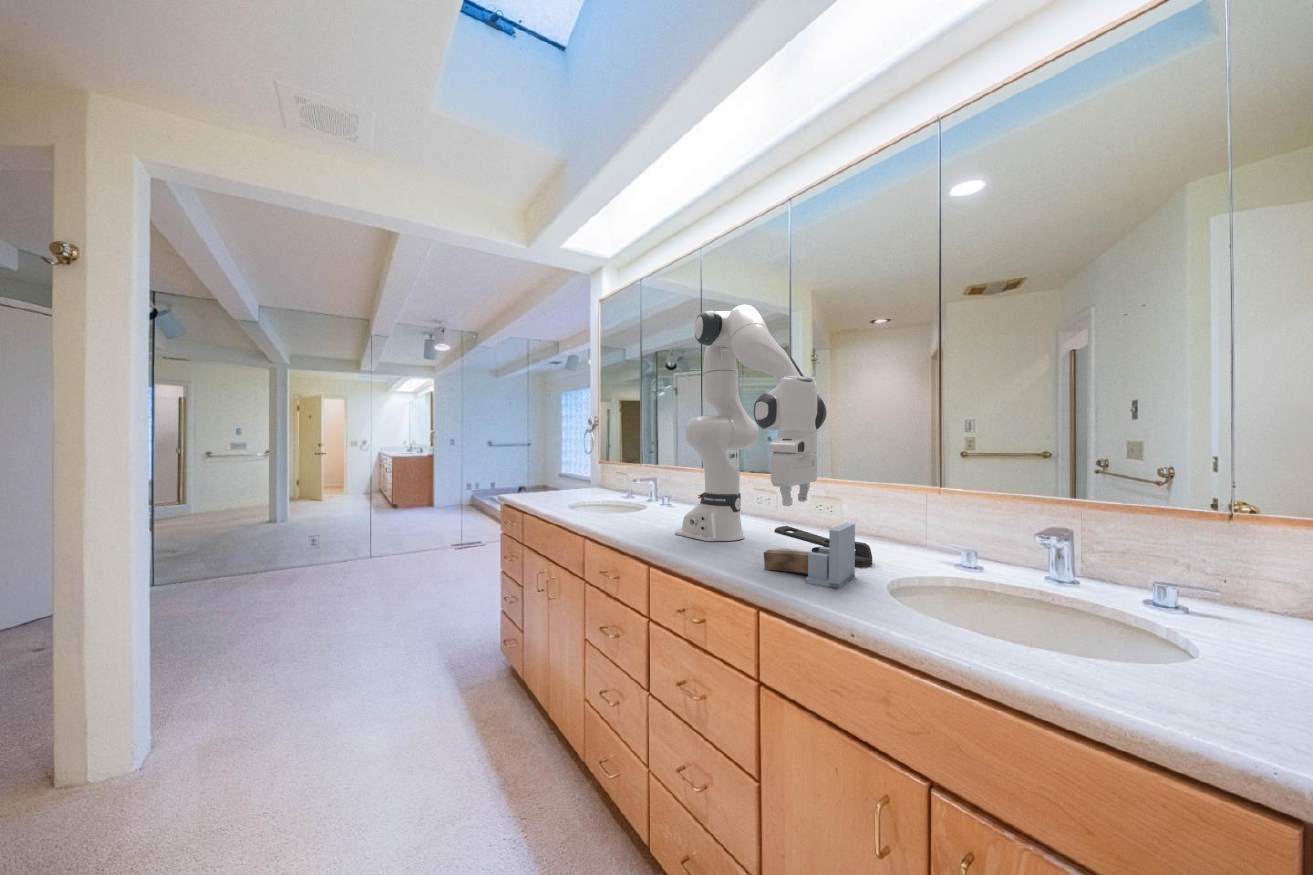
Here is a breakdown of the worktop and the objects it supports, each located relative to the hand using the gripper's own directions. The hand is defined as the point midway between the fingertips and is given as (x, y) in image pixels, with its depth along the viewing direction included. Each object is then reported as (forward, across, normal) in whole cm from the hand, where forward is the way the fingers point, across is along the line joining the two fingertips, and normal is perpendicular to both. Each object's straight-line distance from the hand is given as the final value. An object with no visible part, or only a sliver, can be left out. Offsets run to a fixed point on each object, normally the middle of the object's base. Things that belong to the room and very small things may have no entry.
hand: (795, 503), depth 107 cm
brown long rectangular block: (+15, 0, +1) cm, 16 cm away
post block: (+16, 0, +9) cm, 18 cm away
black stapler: (+17, -19, 0) cm, 25 cm away
